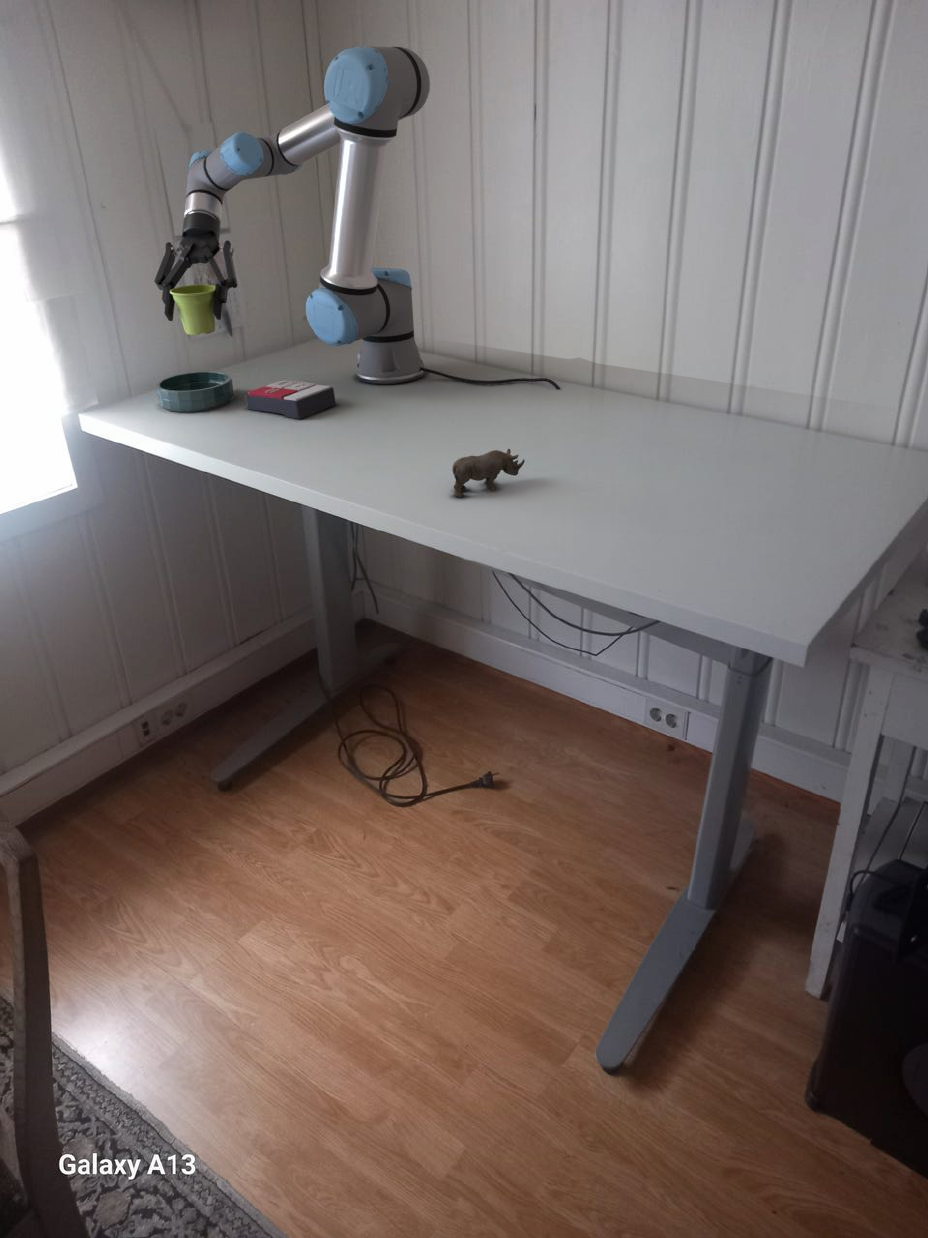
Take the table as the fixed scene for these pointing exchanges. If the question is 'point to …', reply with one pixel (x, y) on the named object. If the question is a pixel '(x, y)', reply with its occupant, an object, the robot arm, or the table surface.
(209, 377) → the bowl
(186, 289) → the plant pot
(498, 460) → the rhino figurine
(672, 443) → the table surface
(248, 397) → the calculator
